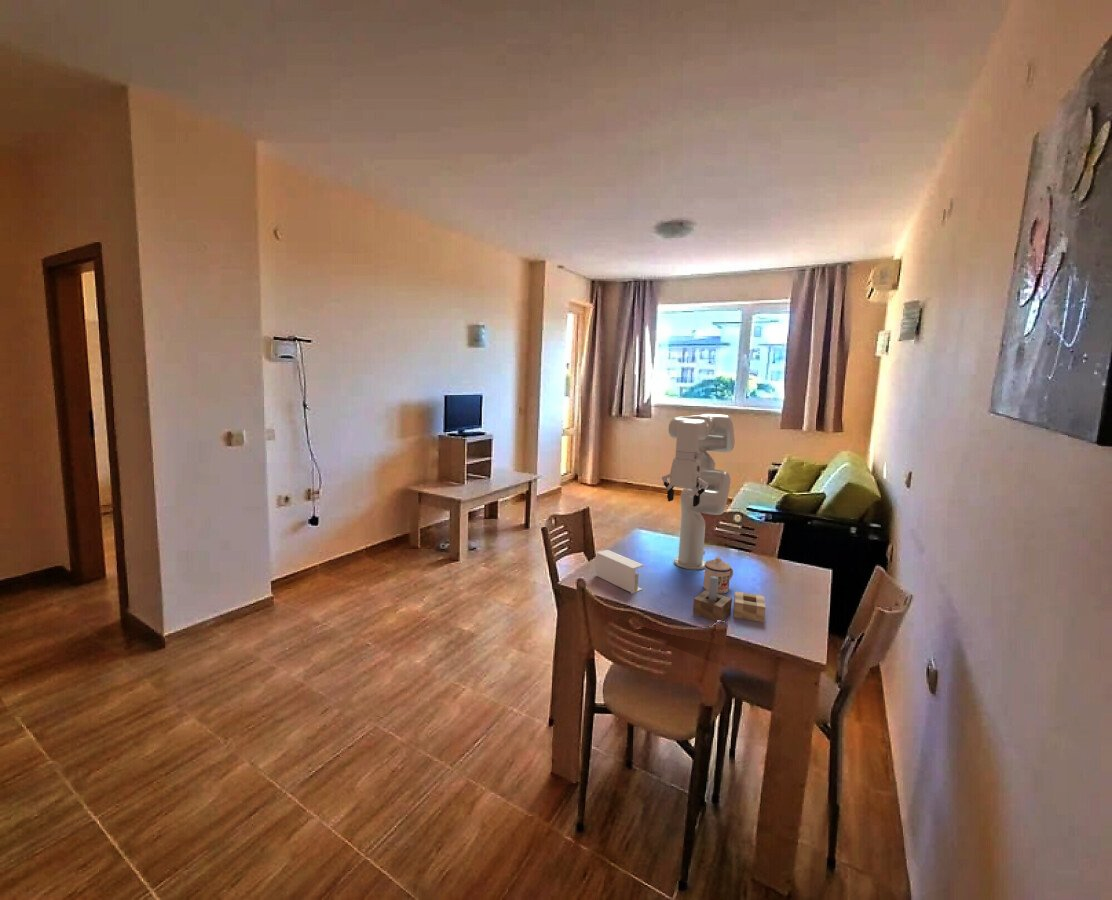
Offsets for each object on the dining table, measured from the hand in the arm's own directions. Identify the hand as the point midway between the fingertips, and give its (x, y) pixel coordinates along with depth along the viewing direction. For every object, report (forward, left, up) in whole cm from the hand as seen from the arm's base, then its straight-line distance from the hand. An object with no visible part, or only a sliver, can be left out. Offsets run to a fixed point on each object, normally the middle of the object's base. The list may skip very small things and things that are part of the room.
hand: (682, 503), depth 183 cm
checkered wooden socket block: (+6, +28, -30) cm, 42 cm away
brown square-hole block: (+14, +19, -30) cm, 38 cm away
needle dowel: (+14, +19, -30) cm, 38 cm away
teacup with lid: (-7, +13, -31) cm, 34 cm away
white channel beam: (+14, -17, -31) cm, 38 cm away
